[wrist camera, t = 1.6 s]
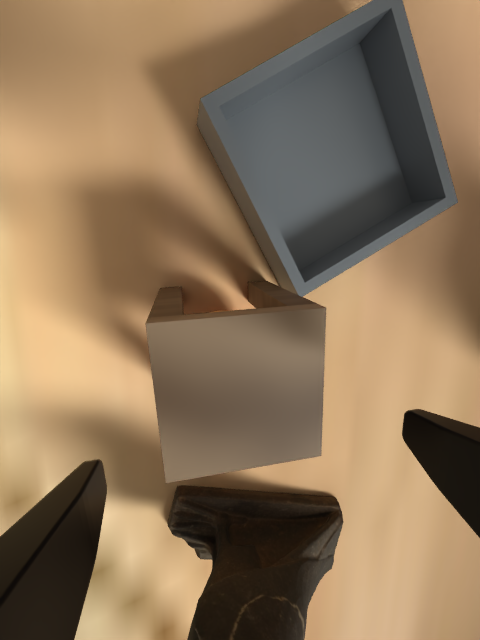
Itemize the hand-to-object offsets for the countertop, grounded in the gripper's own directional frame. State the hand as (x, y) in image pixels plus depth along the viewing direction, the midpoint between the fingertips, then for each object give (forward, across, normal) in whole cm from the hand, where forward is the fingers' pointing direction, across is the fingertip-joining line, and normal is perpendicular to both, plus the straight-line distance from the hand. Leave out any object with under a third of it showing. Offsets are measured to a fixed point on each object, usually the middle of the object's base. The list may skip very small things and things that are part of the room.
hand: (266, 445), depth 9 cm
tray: (+11, -6, -10) cm, 16 cm away
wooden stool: (+11, 0, 0) cm, 11 cm away
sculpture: (+11, -2, +15) cm, 19 cm away
